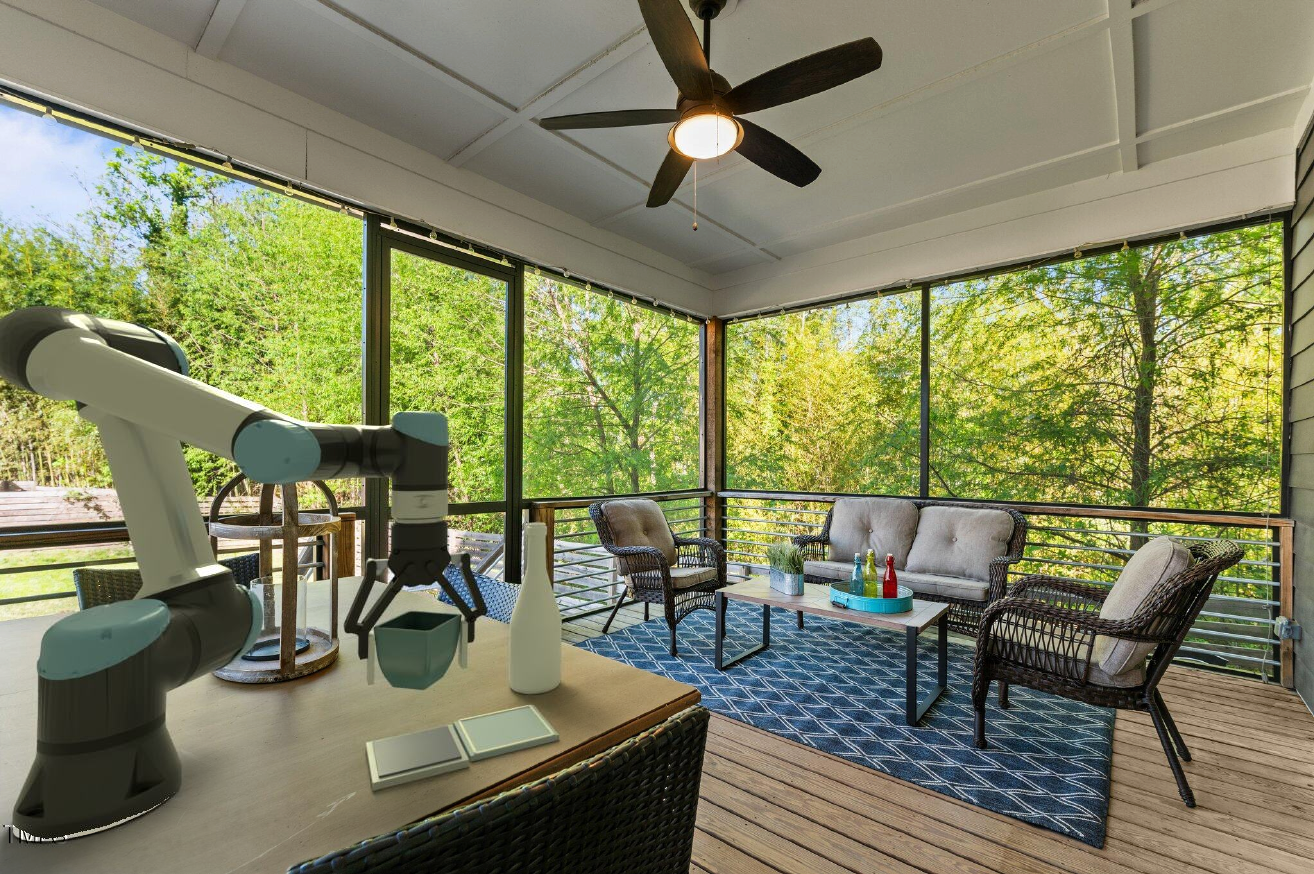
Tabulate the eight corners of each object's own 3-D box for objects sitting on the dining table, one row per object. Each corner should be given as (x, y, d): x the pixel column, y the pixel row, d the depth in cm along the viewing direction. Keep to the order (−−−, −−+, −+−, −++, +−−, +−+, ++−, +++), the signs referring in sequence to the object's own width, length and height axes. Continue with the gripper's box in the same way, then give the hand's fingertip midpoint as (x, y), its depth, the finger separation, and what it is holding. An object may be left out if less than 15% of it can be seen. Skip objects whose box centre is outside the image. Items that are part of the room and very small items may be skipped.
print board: (470, 761, 83) (470, 754, 83) (453, 726, 94) (453, 720, 94) (558, 740, 90) (558, 733, 90) (533, 709, 100) (533, 703, 100)
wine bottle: (516, 675, 115) (518, 520, 116) (565, 676, 115) (567, 520, 116) (502, 695, 106) (504, 526, 106) (555, 696, 106) (557, 527, 106)
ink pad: (372, 790, 76) (372, 780, 76) (365, 749, 87) (366, 740, 87) (468, 766, 82) (468, 757, 82) (451, 730, 92) (451, 722, 92)
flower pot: (429, 698, 79) (430, 630, 80) (370, 693, 81) (371, 626, 81) (462, 674, 88) (463, 613, 88) (408, 670, 90) (409, 610, 90)
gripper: (324, 528, 76) (321, 700, 75) (510, 517, 88) (508, 666, 87) (323, 521, 82) (321, 680, 82) (496, 513, 94) (495, 651, 94)
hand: (418, 673), depth 85 cm, fingers closed on flower pot, 12 cm apart
